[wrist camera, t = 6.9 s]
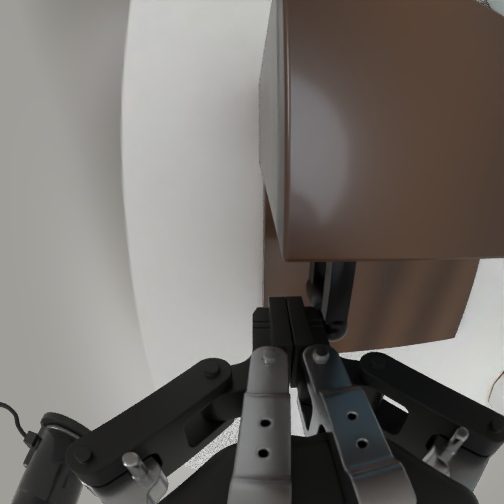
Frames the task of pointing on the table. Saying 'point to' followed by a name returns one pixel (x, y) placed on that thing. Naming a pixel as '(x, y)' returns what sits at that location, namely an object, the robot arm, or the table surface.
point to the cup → (498, 396)
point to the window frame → (383, 157)
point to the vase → (497, 6)
